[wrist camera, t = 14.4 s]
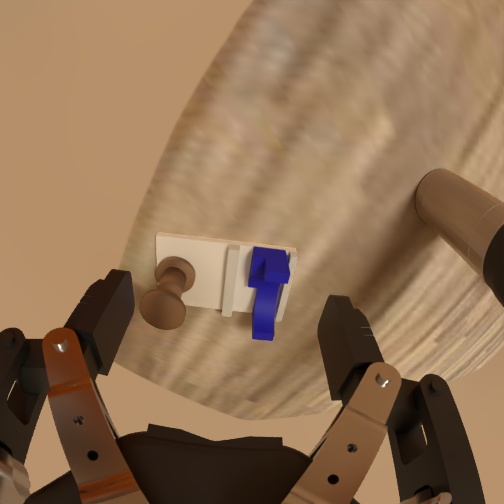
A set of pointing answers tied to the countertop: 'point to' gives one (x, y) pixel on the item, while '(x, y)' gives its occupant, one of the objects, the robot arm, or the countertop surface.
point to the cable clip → (266, 288)
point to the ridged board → (221, 271)
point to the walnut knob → (168, 294)
